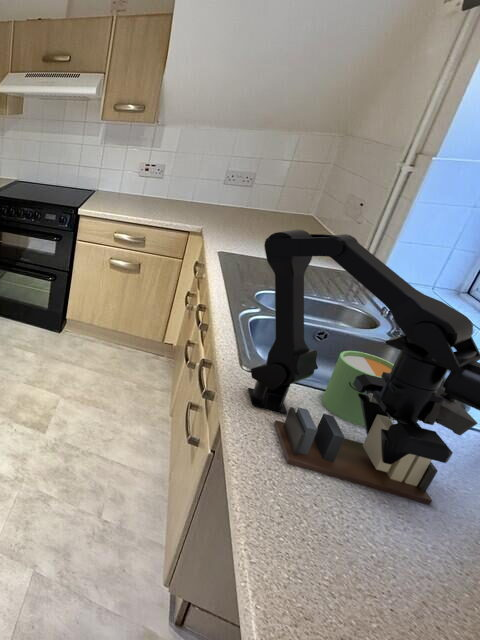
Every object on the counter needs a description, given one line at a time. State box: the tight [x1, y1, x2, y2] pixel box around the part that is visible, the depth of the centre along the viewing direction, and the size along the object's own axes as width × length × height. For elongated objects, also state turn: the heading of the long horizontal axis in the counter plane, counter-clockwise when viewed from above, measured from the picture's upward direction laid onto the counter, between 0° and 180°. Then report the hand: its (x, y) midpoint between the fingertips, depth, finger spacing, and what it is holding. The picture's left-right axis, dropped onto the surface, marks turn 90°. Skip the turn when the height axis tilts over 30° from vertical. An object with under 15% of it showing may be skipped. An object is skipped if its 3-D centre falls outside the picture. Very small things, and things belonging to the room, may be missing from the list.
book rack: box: [273, 406, 439, 506], centre depth 77 cm, size 11×20×6 cm, turn 66°
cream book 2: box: [387, 454, 416, 482], centre depth 74 cm, size 6×2×8 cm, turn 156°
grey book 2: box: [314, 412, 346, 463], centre depth 78 cm, size 6×2×6 cm, turn 156°
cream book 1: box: [362, 414, 394, 472], centre depth 74 cm, size 6×2×8 cm, turn 156°
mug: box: [321, 350, 394, 427], centre depth 88 cm, size 13×10×12 cm
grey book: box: [295, 407, 317, 455], centre depth 79 cm, size 6×2×6 cm, turn 156°
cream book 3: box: [403, 456, 432, 486], centre depth 73 cm, size 6×2×8 cm, turn 156°
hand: (378, 450), depth 75 cm, fingers closed on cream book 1, 6 cm apart
